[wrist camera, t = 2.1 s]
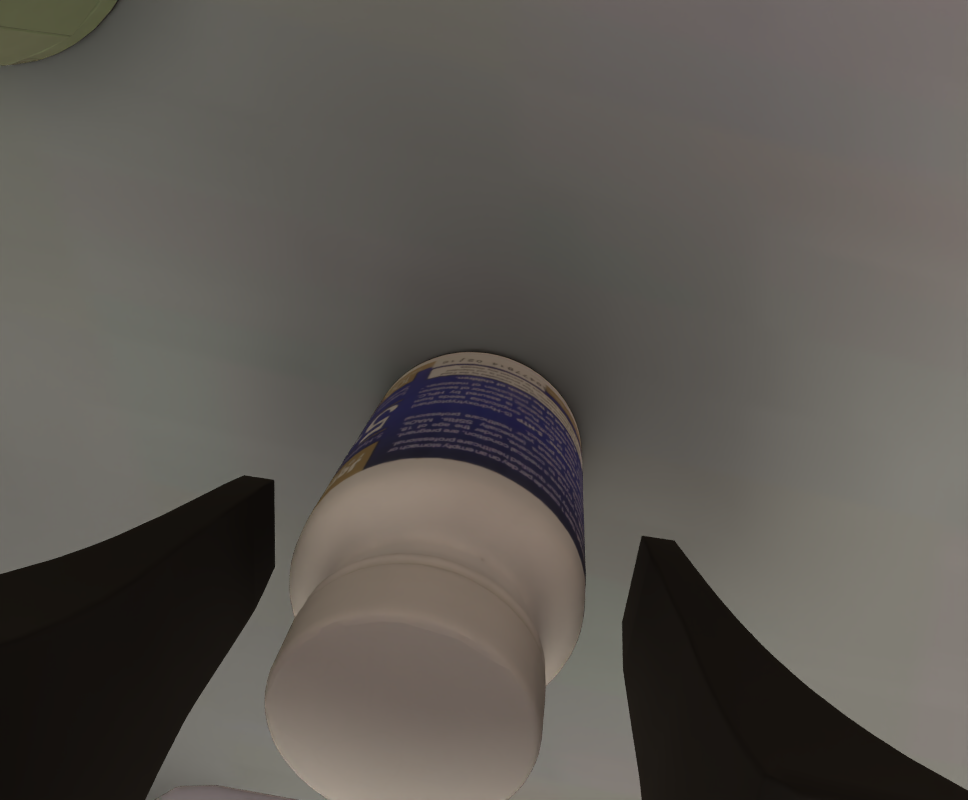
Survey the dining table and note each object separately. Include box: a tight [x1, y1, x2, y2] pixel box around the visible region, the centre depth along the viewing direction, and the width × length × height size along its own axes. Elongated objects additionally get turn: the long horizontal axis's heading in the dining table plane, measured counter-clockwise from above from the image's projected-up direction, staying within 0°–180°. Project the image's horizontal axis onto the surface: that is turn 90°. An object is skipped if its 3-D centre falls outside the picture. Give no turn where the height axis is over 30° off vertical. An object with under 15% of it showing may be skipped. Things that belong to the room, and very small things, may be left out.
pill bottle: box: [265, 352, 586, 800], centre depth 14 cm, size 5×5×9 cm
